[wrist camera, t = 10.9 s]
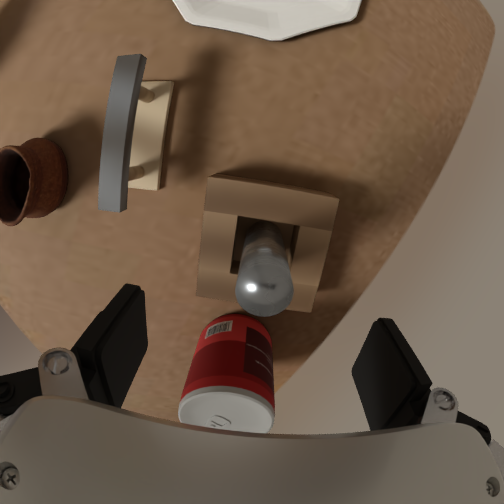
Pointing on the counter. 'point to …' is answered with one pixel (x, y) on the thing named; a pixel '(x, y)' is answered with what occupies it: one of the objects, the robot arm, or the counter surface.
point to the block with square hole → (263, 209)
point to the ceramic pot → (31, 180)
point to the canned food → (231, 377)
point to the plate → (268, 15)
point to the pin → (264, 272)
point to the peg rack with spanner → (132, 133)
